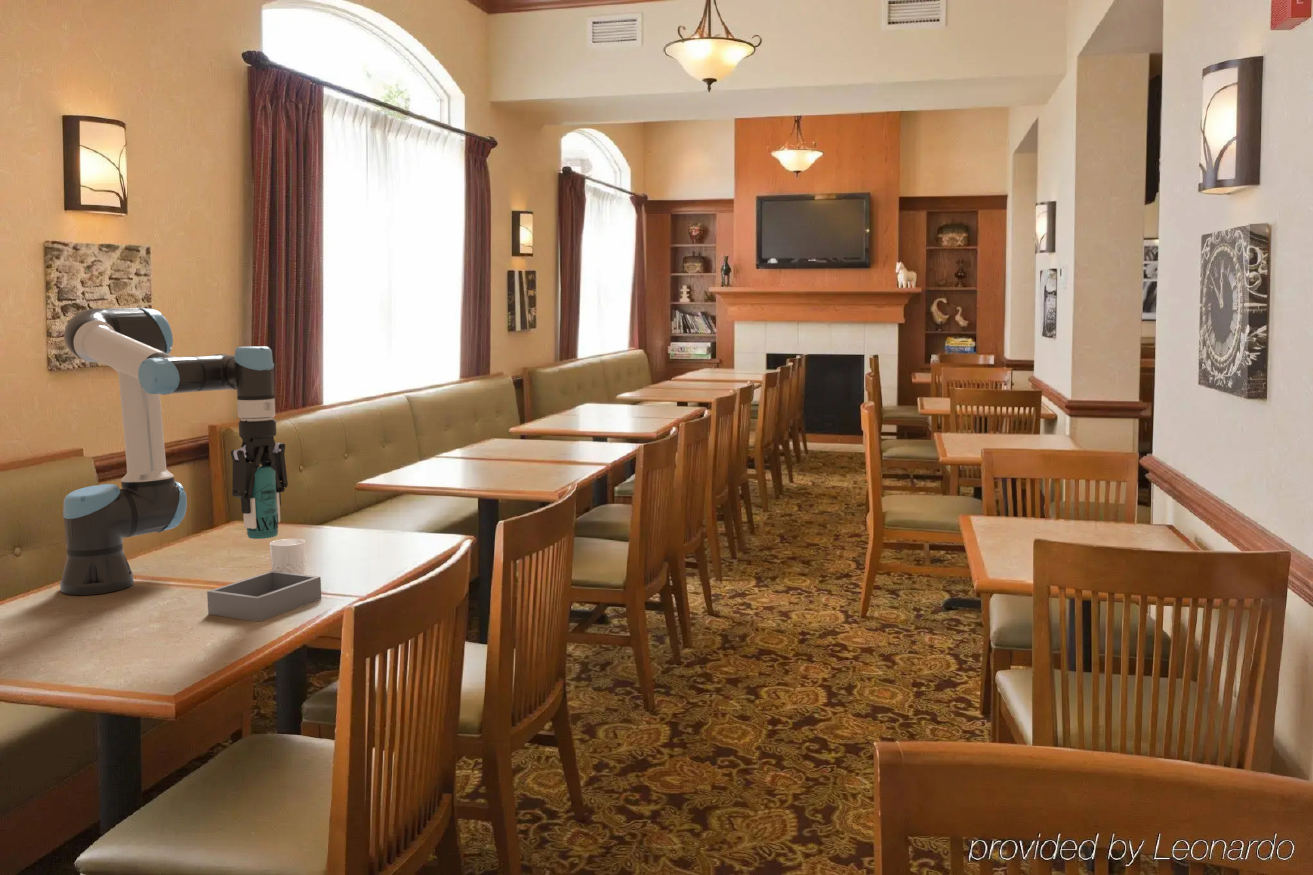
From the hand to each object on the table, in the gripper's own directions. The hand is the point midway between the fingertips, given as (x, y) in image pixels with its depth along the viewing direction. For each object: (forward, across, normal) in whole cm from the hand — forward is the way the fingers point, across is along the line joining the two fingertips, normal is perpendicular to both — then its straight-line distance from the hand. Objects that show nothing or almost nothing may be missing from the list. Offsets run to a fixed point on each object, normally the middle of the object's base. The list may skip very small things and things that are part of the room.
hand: (262, 524), depth 230 cm
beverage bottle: (+4, 0, 0) cm, 4 cm away
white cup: (+18, +17, +9) cm, 27 cm away
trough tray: (+18, 0, 0) cm, 18 cm away
